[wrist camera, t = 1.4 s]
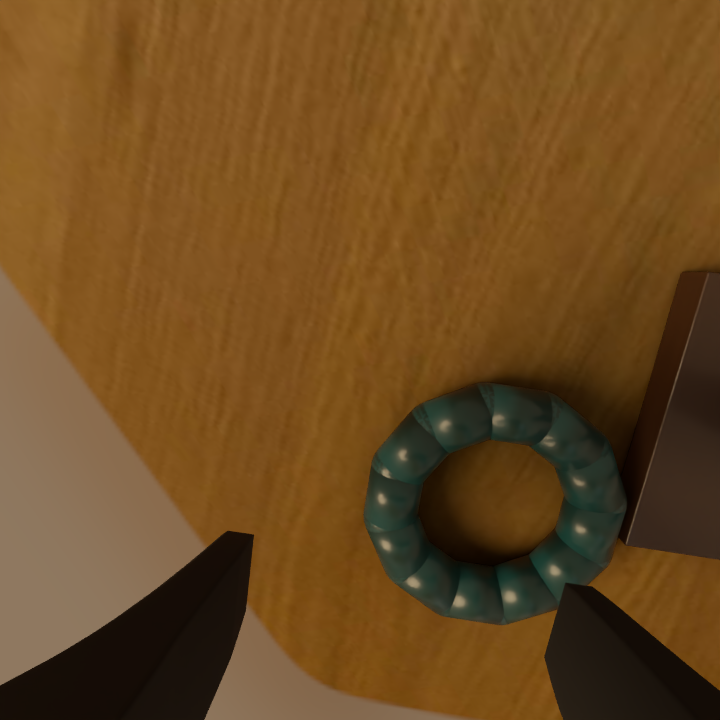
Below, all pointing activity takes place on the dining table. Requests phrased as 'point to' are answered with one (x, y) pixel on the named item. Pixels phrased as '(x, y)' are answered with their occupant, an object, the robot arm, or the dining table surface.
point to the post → (680, 432)
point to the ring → (518, 576)
